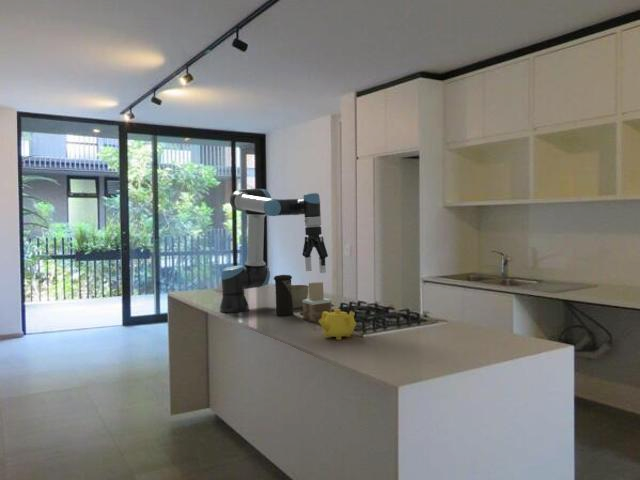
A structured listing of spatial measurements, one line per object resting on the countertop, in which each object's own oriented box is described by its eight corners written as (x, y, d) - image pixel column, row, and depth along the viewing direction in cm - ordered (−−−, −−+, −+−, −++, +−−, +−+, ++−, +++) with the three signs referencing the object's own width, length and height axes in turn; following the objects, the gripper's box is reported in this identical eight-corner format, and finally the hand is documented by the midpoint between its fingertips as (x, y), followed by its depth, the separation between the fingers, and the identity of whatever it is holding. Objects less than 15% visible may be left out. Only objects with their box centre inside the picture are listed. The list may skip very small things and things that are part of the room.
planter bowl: (296, 303, 297) (295, 284, 297) (315, 306, 286) (314, 285, 285) (273, 307, 287) (272, 287, 286) (292, 310, 275) (291, 289, 274)
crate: (303, 319, 251) (302, 302, 251) (321, 316, 256) (320, 299, 256) (313, 322, 243) (312, 304, 242) (332, 319, 248) (331, 302, 247)
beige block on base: (302, 302, 251) (301, 282, 251) (320, 299, 256) (319, 280, 256) (312, 304, 242) (311, 284, 242) (331, 302, 247) (330, 282, 247)
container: (293, 316, 260) (291, 275, 259) (274, 316, 260) (272, 276, 259) (294, 312, 269) (292, 273, 268) (276, 313, 269) (274, 274, 268)
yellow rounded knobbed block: (339, 329, 225) (338, 303, 225) (371, 334, 213) (370, 307, 212) (304, 338, 211) (303, 311, 211) (337, 345, 199) (336, 315, 198)
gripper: (294, 227, 256) (296, 270, 257) (319, 226, 235) (321, 274, 236) (307, 226, 260) (310, 269, 261) (333, 225, 238) (336, 272, 239)
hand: (315, 271), depth 248 cm, fingers open, 13 cm apart
